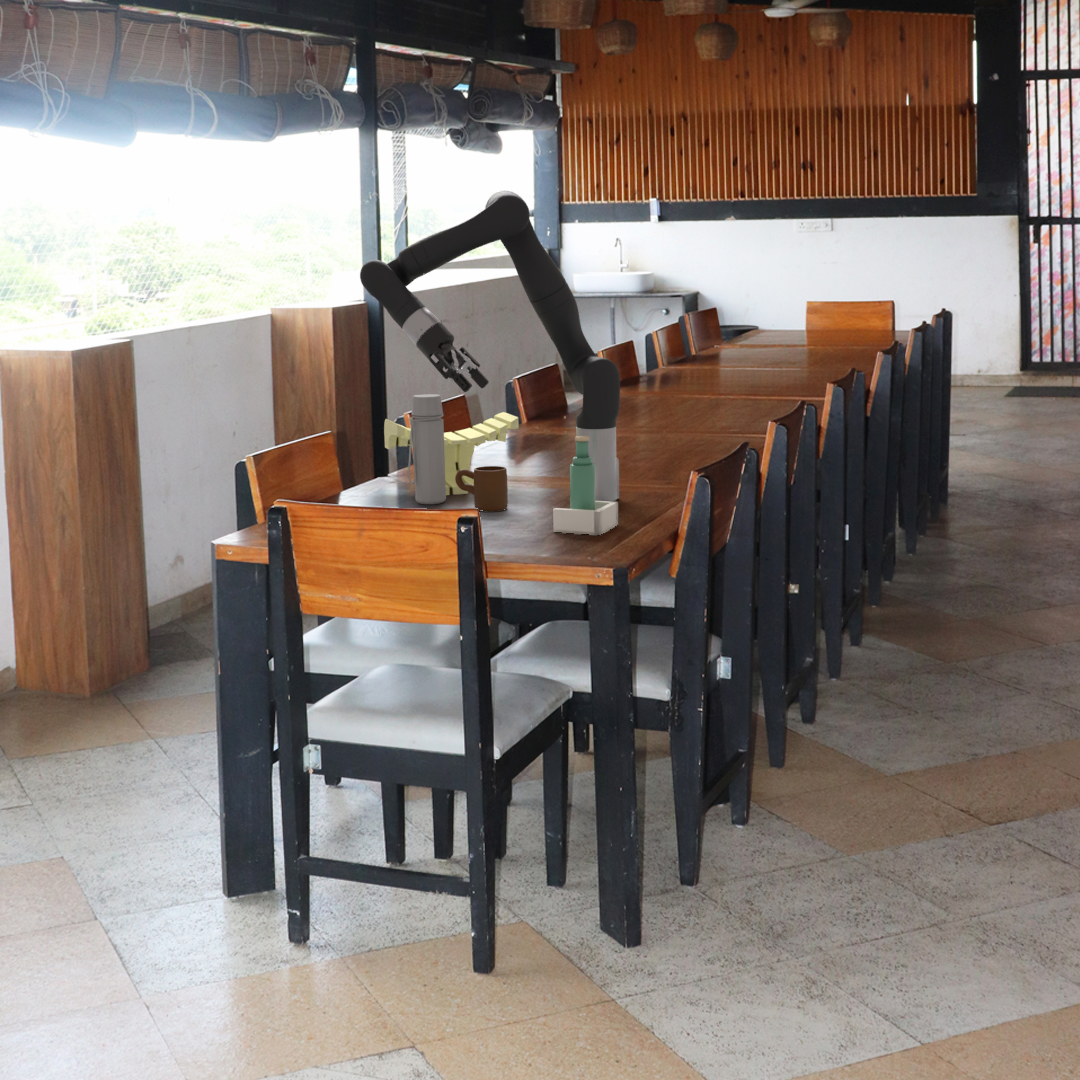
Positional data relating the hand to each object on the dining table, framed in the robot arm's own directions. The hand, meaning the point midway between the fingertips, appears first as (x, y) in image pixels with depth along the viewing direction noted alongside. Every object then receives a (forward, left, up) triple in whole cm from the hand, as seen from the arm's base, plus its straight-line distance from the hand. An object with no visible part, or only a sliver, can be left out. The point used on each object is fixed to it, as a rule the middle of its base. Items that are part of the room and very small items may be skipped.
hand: (477, 387), depth 293 cm
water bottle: (-6, -23, -29) cm, 37 cm away
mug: (-8, -7, -29) cm, 31 cm away
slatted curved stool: (-23, -32, -29) cm, 49 cm away
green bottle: (-4, +26, -28) cm, 38 cm away
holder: (-5, +26, -29) cm, 39 cm away
